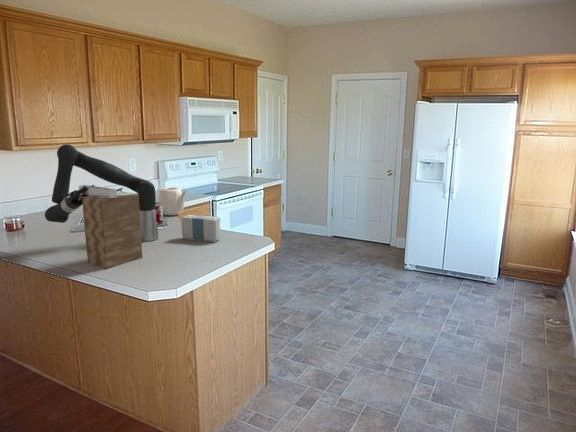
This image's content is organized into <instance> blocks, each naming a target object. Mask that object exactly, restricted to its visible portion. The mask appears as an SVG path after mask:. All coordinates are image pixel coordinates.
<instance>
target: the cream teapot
mask: <svg viewBox="0 0 576 432" xmlns="http://www.w3.org/2000/svg"><path fill="white" fill-rule="evenodd" d="M186 193H187V189H184V190H183V191H182V189H181V188H180V187H178V186H177V187H176V186H174V187H173V186H171V187H170V186H169V187H167V186H166V187H163V188H162V189H161V190H160V191H159V196H158V200H159V204H160V205H161V206H162V208H163V216H177V215H181V214H182V211H183V210H184V209H185V197H186Z"/></svg>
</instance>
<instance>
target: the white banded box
mask: <svg viewBox="0 0 576 432" xmlns="http://www.w3.org/2000/svg"><path fill="white" fill-rule="evenodd" d="M216 207H217V205H215V206H213V207H211V208H208V209H205V210H203V211H202V212H200V213H198V214H187V215H183V216H182V218H181V235H182V239H184V240H190V239H191V241H192V240H193V241H201V240H203V242H211V241H216V242H217V241H219V240H220V239H221V218H220V216H210V215H209V216H208V215H202V214H204V213H206V212H208V211H210V210H212V209H213V208H216ZM218 239H219V240H218Z"/></svg>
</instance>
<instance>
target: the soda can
mask: <svg viewBox="0 0 576 432" xmlns="http://www.w3.org/2000/svg"><path fill="white" fill-rule="evenodd" d="M155 211H156V222H157V223H158V225H161V224H163V223H164V213H163V208H162V206H161V205H160V203H159V204H158V203H156V205H155Z"/></svg>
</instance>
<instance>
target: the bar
mask: <svg viewBox="0 0 576 432" xmlns="http://www.w3.org/2000/svg"><path fill="white" fill-rule="evenodd" d="M84 186H86V187H87V191H86V192H85V193H83V194H87V195H93V196H100V197H106V198H113V197H117V196H116V191H117V188H116V189H115V188H109V187H102V186H95V185H94V186H92V185H89V184H88V185H87V184H83V185H78V190H79V189H81V188H83V187H84Z"/></svg>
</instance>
